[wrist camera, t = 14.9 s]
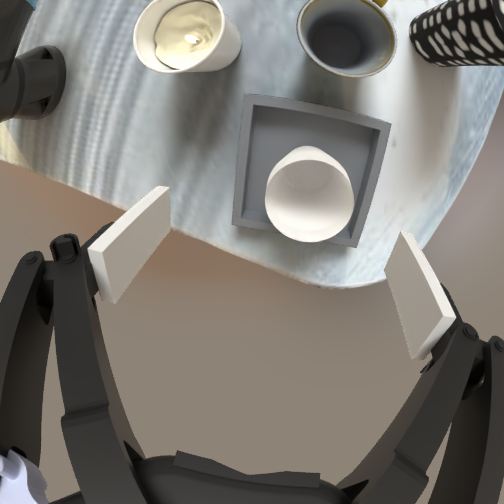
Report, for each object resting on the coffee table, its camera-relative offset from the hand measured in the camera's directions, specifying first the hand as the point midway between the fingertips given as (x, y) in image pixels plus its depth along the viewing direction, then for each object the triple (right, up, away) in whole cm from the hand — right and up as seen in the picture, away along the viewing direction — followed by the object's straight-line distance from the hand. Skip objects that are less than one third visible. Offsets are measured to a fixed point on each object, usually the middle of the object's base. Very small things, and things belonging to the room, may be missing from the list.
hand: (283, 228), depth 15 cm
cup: (+6, +10, +21) cm, 24 cm away
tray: (+6, +11, +22) cm, 25 cm away
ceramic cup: (+10, +26, +11) cm, 30 cm away
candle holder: (-7, +27, +14) cm, 31 cm away
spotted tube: (+23, +28, +8) cm, 37 cm away
